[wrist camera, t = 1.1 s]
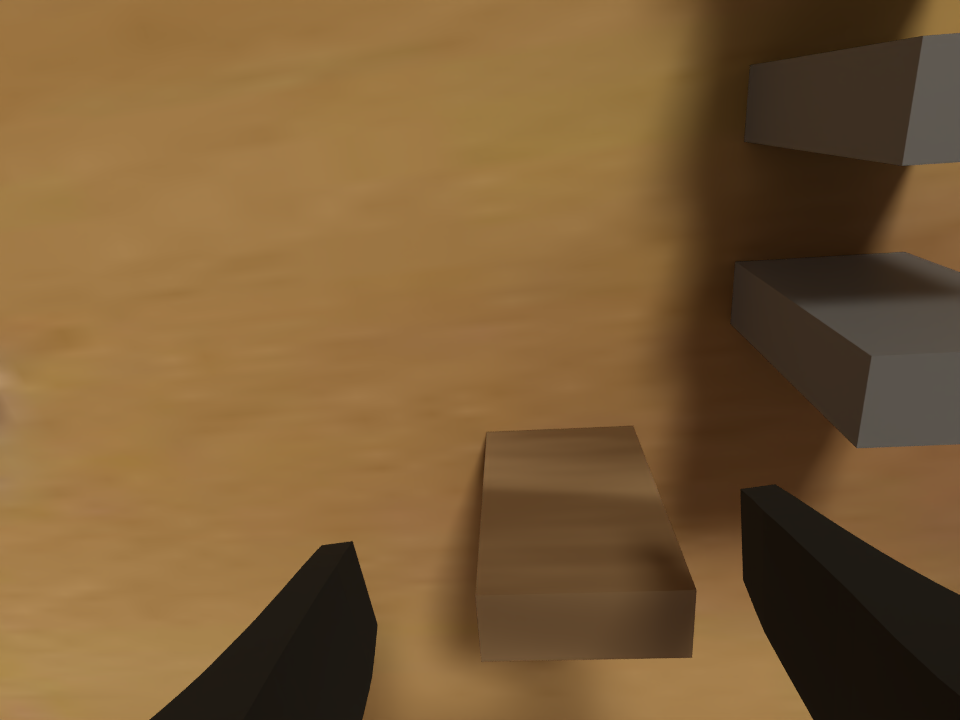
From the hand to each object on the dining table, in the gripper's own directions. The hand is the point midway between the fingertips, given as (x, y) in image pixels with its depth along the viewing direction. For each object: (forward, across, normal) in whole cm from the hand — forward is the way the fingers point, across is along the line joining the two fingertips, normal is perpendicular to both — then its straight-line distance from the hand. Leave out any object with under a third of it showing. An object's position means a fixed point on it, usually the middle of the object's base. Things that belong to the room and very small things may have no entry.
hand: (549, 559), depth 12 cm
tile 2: (+10, -10, -6) cm, 15 cm away
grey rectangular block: (+10, -9, -1) cm, 13 cm away
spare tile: (+10, -1, +4) cm, 11 cm away
